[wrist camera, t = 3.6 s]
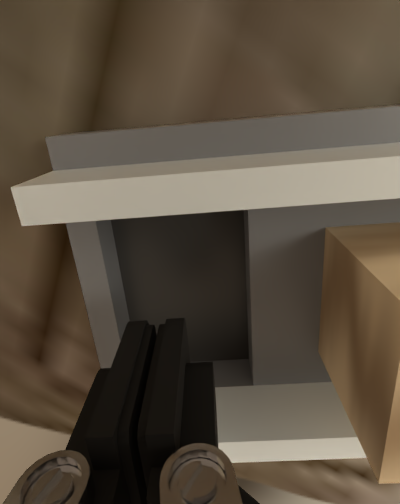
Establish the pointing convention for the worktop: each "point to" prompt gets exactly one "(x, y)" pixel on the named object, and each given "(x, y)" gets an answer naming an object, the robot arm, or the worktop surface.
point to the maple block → (365, 336)
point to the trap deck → (226, 252)
